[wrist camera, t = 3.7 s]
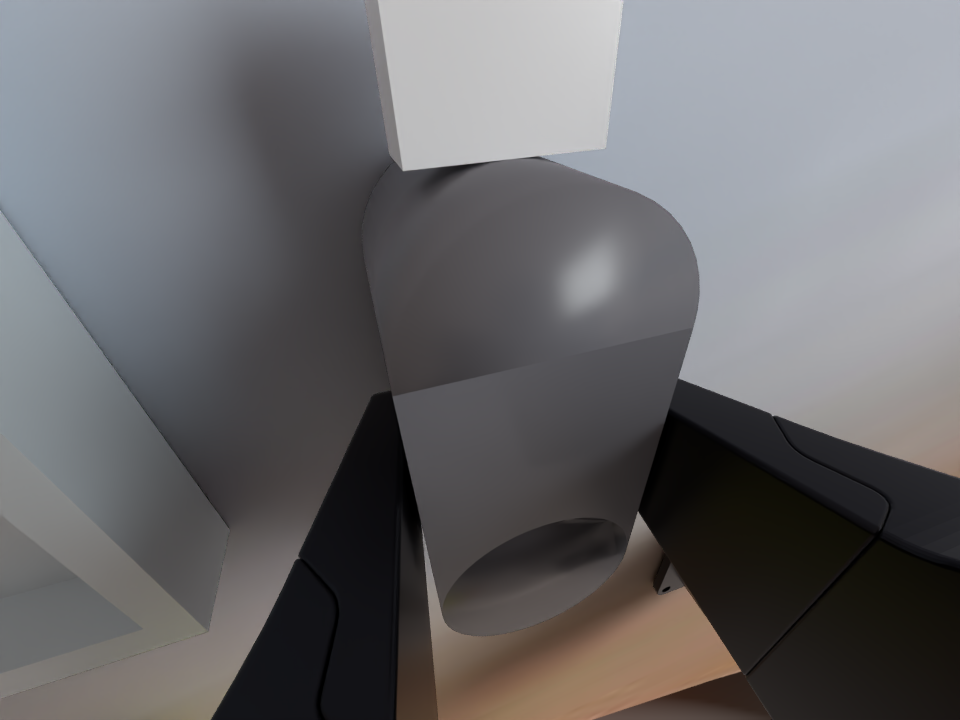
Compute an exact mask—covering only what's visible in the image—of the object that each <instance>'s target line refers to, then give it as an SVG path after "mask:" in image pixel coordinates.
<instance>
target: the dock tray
mask: <svg viewBox="0 0 960 720" xmlns="http://www.w3.org/2000/svg"><path fill="white" fill-rule="evenodd" d="M229 532H230V529H229V528H228V527H227V525H226V524H225V522H224V521H223V520H222V518H221V517H220V515H219V514H218V513H217V511H216V510H215V508H214V507H213V506H212V504H211V503H210V502H209V500H208V499H207V497H206V496H205V495H204V493H203V492H202V490H201V489H200V488H199V486H198V485H197V483H196V482H195V481H194V479H193V478H192V476H191V475H190V474H189V472H188V471H187V470H186V468H185V467H184V465H183V464H182V463H181V461H180V460H179V458H178V457H177V456H176V454H175V453H174V451H173V450H172V449H171V447H170V446H169V444H168V443H167V442H166V440H165V439H164V437H163V436H162V435H161V433H160V432H159V431H158V429H157V428H156V426H155V425H154V424H153V422H152V421H151V419H150V418H149V417H148V415H147V414H146V412H145V411H144V410H143V408H142V407H141V405H140V404H139V403H138V401H137V400H136V398H135V397H134V396H133V394H132V393H131V392H130V390H129V389H128V387H127V386H126V385H125V383H124V382H123V380H122V379H121V378H120V376H119V375H118V373H117V372H116V371H115V369H114V368H113V366H112V365H111V364H110V362H109V361H108V359H107V358H106V357H105V355H104V354H103V353H102V351H101V350H100V348H99V347H98V346H97V344H96V343H95V341H94V340H93V339H92V337H91V336H90V334H89V333H88V332H87V330H86V329H85V327H84V326H83V325H82V323H81V322H80V321H79V319H78V318H77V316H76V315H75V314H74V312H73V311H72V309H71V308H70V307H69V305H68V304H67V302H66V301H65V300H64V298H63V297H62V295H61V294H60V293H59V291H58V290H57V288H56V287H55V286H54V284H53V283H52V282H51V280H50V279H49V277H48V276H47V275H46V273H45V272H44V270H43V269H42V268H41V266H40V265H39V263H38V262H37V261H36V259H35V258H34V256H33V255H32V254H31V252H30V251H29V249H28V248H27V247H26V245H25V244H24V243H23V241H22V240H21V238H20V237H19V236H18V234H17V233H16V231H15V230H14V229H13V227H12V226H11V224H10V223H9V222H8V220H7V219H6V217H5V216H4V215H3V213H2V212H1V211H0V699H1V698H4V697H8V696H11V695H14V694H17V693H20V692H23V691H26V690H29V689H32V688H35V687H39V686H42V685H45V684H48V683H51V682H54V681H57V680H60V679H63V678H66V677H70V676H73V675H76V674H79V673H82V672H85V671H88V670H91V669H94V668H97V667H100V666H104V665H107V664H110V663H113V662H116V661H119V660H122V659H125V658H128V657H131V656H135V655H138V654H141V653H144V652H147V651H150V650H153V649H156V648H159V647H162V646H166V645H169V644H172V643H175V642H178V641H181V640H184V639H187V638H190V637H193V636H197V635H200V634H203V633H206V632H208V630H209V626H210V621H211V616H212V611H213V607H214V602H215V597H216V593H217V588H218V583H219V579H220V574H221V569H222V565H223V560H224V555H225V551H226V546H227V541H228V537H229Z"/></svg>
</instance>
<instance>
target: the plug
mask: <svg viewBox="0 0 960 720" xmlns="http://www.w3.org/2000/svg"><path fill="white" fill-rule="evenodd" d="M364 1H365V8H366V14H367V20H368V26H369V32H370V39H371V45H372V51H373V57H374V63H375V70H376V76H377V82H378V88H379V94H380V101H381V107H382V113H383V119H384V126H385V132H386V138H387V144H388V150H389V155H390V156H391V157H392V158H393V160H394V162H393V163H392V164H391V165H390V166H389V167H388V169H387V170H386V171H385V172H384V174H383V175H382V176H381V177H380V179H379V181H378V182H377V184H376V186H375V187H374V189H373V191H372V193H371V196H370V198H369V200H368V203H367V206H366V210H365V214H364V217H363V225H362V249H363V255H364V261H365V266H366V271H367V276H368V280H369V285H370V290H371V295H372V300H373V305H374V309H375V314H376V319H377V324H378V329H379V334H380V339H381V343H382V348H383V353H384V358H385V363H386V368H387V372H388V377H389V382H390V387H391V392H392V397H393V401H394V405H395V410H396V414H397V419H398V423H399V427H400V432H401V436H402V440H403V445H404V449H405V454H406V458H407V462H408V467H409V471H410V475H411V480H412V484H413V489H414V493H415V497H416V502H417V506H418V510H419V515H420V519H421V523H422V528H423V532H424V537H425V541H426V545H427V550H428V554H429V558H430V563H431V567H432V572H433V576H434V580H435V585H436V589H437V593H438V598H439V602H440V607H441V611H442V615H443V618H444V621H445V623H446V624H447V625H448V626H449V627H450V628H451V629H453V630H454V631H456V632H459V633H461V634H465V635H471V636H492V635H500V634H506V633H510V632H514V631H518V630H521V629H525V628H528V627H531V626H534V625H536V624H539V623H541V622H544V621H546V620H548V619H550V618H552V617H555V616H557V615H559V614H560V613H562V612H564V611H566V610H568V609H569V608H571V607H573V606H575V605H576V604H578V603H579V602H581V601H582V600H584V599H585V598H586V597H588V596H589V595H590V594H592V593H593V592H594V591H595V590H597V589H598V588H599V587H600V586H601V585H602V584H603V583H604V582H605V581H606V580H607V579H608V578H609V577H610V576H611V575H612V574H613V573H614V571H615V570H616V569H617V567H618V566H619V564H620V562H621V561H622V559H623V557H624V554H625V552H626V548H627V545H628V542H629V539H630V535H631V532H632V529H633V525H634V522H635V519H636V515H637V512H638V509H639V505H640V502H641V499H642V496H643V492H644V489H645V486H646V482H647V479H648V476H649V472H650V469H651V466H652V463H653V459H654V456H655V453H656V449H657V446H658V443H659V439H660V436H661V433H662V429H663V426H664V423H665V420H666V416H667V413H668V410H669V406H670V403H671V400H672V396H673V393H674V390H675V386H676V383H677V380H678V377H679V373H680V370H681V367H682V363H683V360H684V357H685V353H686V350H687V347H688V344H689V340H690V337H691V334H692V330H693V327H694V323H695V319H696V314H697V310H698V302H699V272H698V266H697V260H696V256H695V254H694V251H693V248H692V245H691V242H690V240H689V239H688V237H687V235H686V233H685V232H684V230H683V228H682V227H681V225H680V224H679V223H678V222H677V221H676V220H675V218H674V217H673V216H672V215H671V214H670V213H669V212H668V211H667V210H665V209H664V208H663V207H661V206H660V205H659V204H658V203H656V202H655V201H653V200H651V199H649V198H647V197H645V196H643V195H641V194H639V193H637V192H635V191H632V190H629V189H626V188H624V187H621V186H618V185H616V184H613V183H610V182H607V181H605V180H602V179H599V178H596V177H594V176H591V175H588V174H586V173H583V172H580V171H577V170H575V169H572V168H569V167H567V166H564V165H561V164H558V163H556V162H553V161H550V160H548V159H545V158H542V157H539V156H544V155H553V154H563V153H572V152H581V151H590V150H599V149H606V142H607V134H608V126H609V117H610V109H611V101H612V92H613V84H614V76H615V67H616V59H617V51H618V42H619V34H620V25H621V17H622V9H623V0H364Z"/></svg>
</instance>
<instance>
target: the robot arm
mask: <svg viewBox="0 0 960 720" xmlns="http://www.w3.org/2000/svg"><path fill="white" fill-rule="evenodd" d="M638 512H639V513H640V515H641V517H642V518H643V520H644V521H645V523H646V524H647V526H648V527H649V529H650V530H651V532H652V534H653V535H654V537H655V538H656V540H657V541H658V543H659V544H660V546H661V547H662V549H663V551H664V552H665V557H664V559H663V562H662V564H661V566H660V569H659V571H658V574H657V576H656V579H655V581H654V583H653V588H654V589H655V591H656V592H657V594H658V595H663V594H666V593H668V592H671V591H673V590H676V589H678V588H681V587H683V586H685V587H686V589H687V590H688V592H689V593H690V595H691V596H692V597H693V599H694V600H695V602H696V603H697V605H698V606H699V607H700V609H701V610H702V612H703V613H704V614H705V616H706V617H707V619H708V620H709V622H710V623H711V625H712V626H713V628H714V629H715V631H716V632H717V634H718V635H719V637H720V639H721V640H722V642H723V643H724V645H725V646H726V648H727V649H728V651H729V652H730V654H731V656H732V657H733V659H734V660H735V662H736V663H737V665H738V666H739V668H740V669H741V671H742V673H743V674H744V675H746V679H747V681H748V682H749V684H750V685H751V687H752V688H753V690H754V692H755V693H756V695H757V696H758V698H759V699H760V701H761V702H762V704H763V706H764V707H765V709H766V710H767V712H768V713H769V715H770V716H771V718H772V720H960V478H957V477H954V476H951V475H948V474H945V473H942V472H939V471H935V470H932V469H929V468H926V467H923V466H920V465H917V464H914V463H911V462H908V461H904V460H901V459H898V458H895V457H892V456H889V455H886V454H883V453H880V452H877V451H874V450H871V449H868V448H865V447H862V446H859V445H856V444H853V443H850V442H847V441H844V440H841V439H838V438H835V437H832V436H829V435H827V434H824V433H821V432H818V431H816V430H813V429H810V428H808V427H805V426H802V425H799V424H797V423H794V422H791V421H789V420H786V419H784V418H781V417H779V416H772V415H771V414H770V413H768V412H765V411H762V410H760V409H757V408H755V407H752V406H749V405H747V404H744V403H741V402H739V401H736V400H733V399H731V398H728V397H726V396H723V395H720V394H718V393H715V392H712V391H710V390H707V389H704V388H702V387H699V386H697V385H694V384H691V383H689V382H686V381H683V380H681V379H678V380H677V383H676V386H675V390H674V393H673V396H672V400H671V403H670V406H669V410H668V413H667V416H666V420H665V423H664V426H663V429H662V433H661V436H660V439H659V443H658V446H657V449H656V453H655V456H654V459H653V463H652V466H651V469H650V472H649V476H648V479H647V482H646V486H645V489H644V492H643V496H642V499H641V502H640V505H639V509H638ZM298 556H299V558H300V559H297V560H296V561H295V562H294V564H293V567H292V569H291V571H290V573H289V575H288V578H287V580H286V582H285V584H284V586H283V588H282V590H281V592H280V594H279V597H278V599H277V601H276V603H275V605H274V607H273V609H272V611H271V613H270V615H269V617H268V619H267V621H266V623H265V625H264V627H263V629H262V631H261V632H260V634H259V636H258V638H257V640H256V641H255V643H254V645H253V647H252V649H251V650H250V652H249V654H248V656H247V658H246V659H245V661H244V663H243V665H242V667H241V668H240V670H239V672H238V674H237V675H236V677H235V679H234V681H233V683H232V684H231V686H230V688H229V689H228V691H227V693H226V695H225V696H224V698H223V700H222V702H221V703H220V705H219V707H218V708H217V710H216V712H215V714H214V715H213V717H212V719H211V720H438V711H437V700H436V688H435V676H434V665H433V653H432V642H431V630H430V618H429V607H428V595H427V584H426V572H425V560H424V549H423V537H422V526H421V519H420V515H419V510H418V506H417V502H416V497H415V493H414V489H413V484H412V480H411V475H410V471H409V467H408V462H407V458H406V454H405V449H404V445H403V440H402V436H401V432H400V427H399V423H398V419H397V414H396V410H395V405H394V401H393V397H392V392H391V390H390V391H386V392H381V393H377V394H374V395H373V396H372V397H371V399H370V401H369V403H368V405H367V407H366V409H365V412H364V414H363V416H362V418H361V420H360V422H359V425H358V427H357V429H356V431H355V433H354V435H353V437H352V440H351V442H350V444H349V446H348V448H347V450H346V453H345V455H344V457H343V459H342V461H341V463H340V466H339V468H338V470H337V472H336V474H335V476H334V479H333V481H332V483H331V485H330V487H329V489H328V492H327V494H326V496H325V498H324V500H323V502H322V505H321V507H320V509H319V511H318V513H317V515H316V518H315V520H314V522H313V524H312V526H311V528H310V531H309V533H308V535H307V537H306V539H305V541H304V544H303V546H302V548H301V550H300V552H299V555H298Z"/></svg>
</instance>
